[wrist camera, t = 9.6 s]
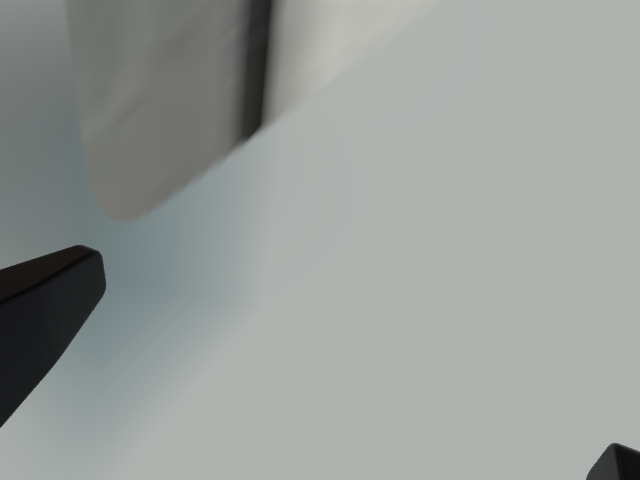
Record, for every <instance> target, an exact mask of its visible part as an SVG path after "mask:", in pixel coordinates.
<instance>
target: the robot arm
mask: <svg viewBox="0 0 640 480" xmlns="http://www.w3.org/2000/svg"><path fill="white" fill-rule="evenodd" d="M105 289H106V279H105V273H104V265H103V258H102V255H101V254H100V252H98V251H97V250H94V249H92V248H89V247H86V246H83V245H76V246H72V247H69V248H66V249H63V250H60V251H57V252H54V253H51V254H47V255H44V256H41V257H38V258H35V259H32V260H29V261H26V262H23V263H19V264H16V265H14V266H10V267H7V268H4V269H1V270H0V428H1V427H2V426H3V424H4V423H5V422H6V421H7V420H8V419H9V417H10V416H11V415H12V414H13V413H14V412H15V410H16V409H17V408H18V407H19V406H20V404H21V403H22V402H23V401H24V400H25V399H26V398H27V396H28V395H29V394H30V393H31V392H32V391H33V389H34V388H35V387H36V386H37V385H38V384H39V382H40V381H41V380H42V379H43V378H44V377H45V376H46V374H47V373H48V372H49V371H50V370H51V368H52V367H53V366H54V365H55V363H56V362H57V361H58V360H59V358H60V357H61V356H62V354H63V353H64V351H65V350H66V349H67V347H68V346H69V344H70V343H71V341H72V340H73V339H74V337H75V336H76V334H77V333H78V331H79V330H80V328H81V327H82V326H83V324H84V323H85V321H86V320H87V318H88V317H89V316H90V314H91V312H92V311H93V310H94V308H95V307H96V305H97V304H98V303H99V301H100V299H101V298H102V297H103V295H104V292H105ZM586 480H640V452H639V451H637V450H634V449H632V448H629V447H626V446H624V445H621V444H618V443H612V444H611V445H609V446H608V447H607V449H606V450H605V451H604V452H603V454H602V455H601V456H600V458H599V459H598V461H597V462H596V463H595V464H594V466H593V467H592V468H591V470H590V471H589V473H588V475H587V478H586Z"/></svg>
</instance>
